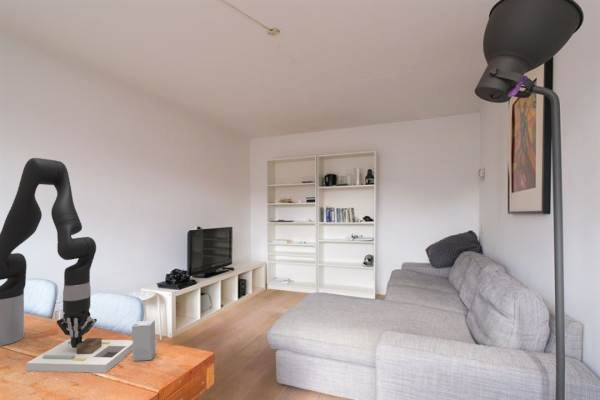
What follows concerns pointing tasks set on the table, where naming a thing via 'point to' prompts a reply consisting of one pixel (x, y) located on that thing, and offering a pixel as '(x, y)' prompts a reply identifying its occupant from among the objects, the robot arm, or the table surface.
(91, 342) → the walnut block
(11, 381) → the table surface
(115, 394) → the table surface
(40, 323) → the table surface
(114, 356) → the board
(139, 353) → the skincare box
